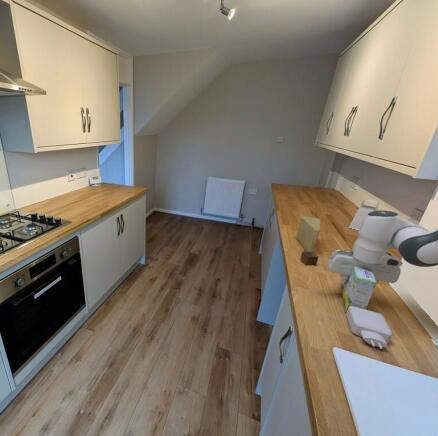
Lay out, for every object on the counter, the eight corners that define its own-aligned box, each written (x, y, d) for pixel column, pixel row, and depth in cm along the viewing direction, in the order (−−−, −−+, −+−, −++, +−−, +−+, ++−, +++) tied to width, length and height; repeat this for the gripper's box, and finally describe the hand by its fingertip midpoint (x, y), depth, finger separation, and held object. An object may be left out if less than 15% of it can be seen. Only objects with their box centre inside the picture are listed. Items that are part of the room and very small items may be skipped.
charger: (355, 346, 73) (345, 315, 85) (395, 360, 68) (378, 325, 81) (360, 335, 71) (349, 305, 83) (401, 348, 67) (384, 314, 79)
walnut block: (309, 260, 121) (312, 251, 119) (316, 265, 116) (318, 256, 114) (299, 260, 121) (302, 251, 119) (305, 265, 116) (308, 256, 114)
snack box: (338, 282, 102) (349, 251, 97) (355, 287, 99) (367, 255, 94) (343, 312, 86) (357, 276, 80) (363, 318, 83) (379, 282, 78)
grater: (354, 225, 167) (364, 198, 160) (373, 230, 159) (384, 201, 152) (348, 228, 162) (358, 200, 155) (367, 233, 154) (378, 204, 147)
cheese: (321, 257, 123) (329, 231, 118) (299, 253, 127) (306, 228, 122) (314, 241, 142) (321, 217, 137) (295, 237, 146) (301, 215, 141)
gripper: (336, 252, 86) (325, 284, 91) (409, 263, 79) (393, 297, 84) (330, 245, 92) (320, 275, 97) (398, 255, 85) (384, 287, 90)
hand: (355, 285), depth 90 cm, fingers closed on snack box, 6 cm apart
